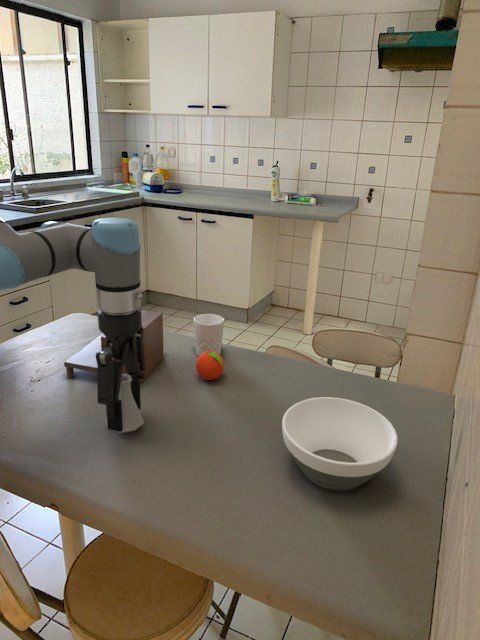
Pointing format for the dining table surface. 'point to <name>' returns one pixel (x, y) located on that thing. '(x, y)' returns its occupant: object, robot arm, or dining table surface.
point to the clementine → (210, 365)
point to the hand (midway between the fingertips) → (124, 418)
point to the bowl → (338, 440)
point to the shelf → (88, 362)
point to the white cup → (208, 333)
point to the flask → (128, 406)
